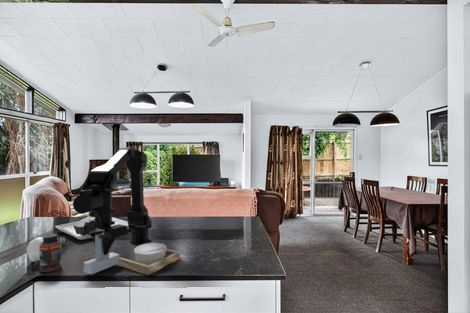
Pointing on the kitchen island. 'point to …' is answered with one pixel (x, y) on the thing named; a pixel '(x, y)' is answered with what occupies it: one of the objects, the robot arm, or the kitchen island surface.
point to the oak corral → (146, 269)
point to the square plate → (70, 230)
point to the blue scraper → (100, 258)
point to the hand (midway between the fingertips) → (102, 253)
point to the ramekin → (150, 253)
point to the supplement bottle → (50, 253)
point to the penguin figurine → (34, 249)
